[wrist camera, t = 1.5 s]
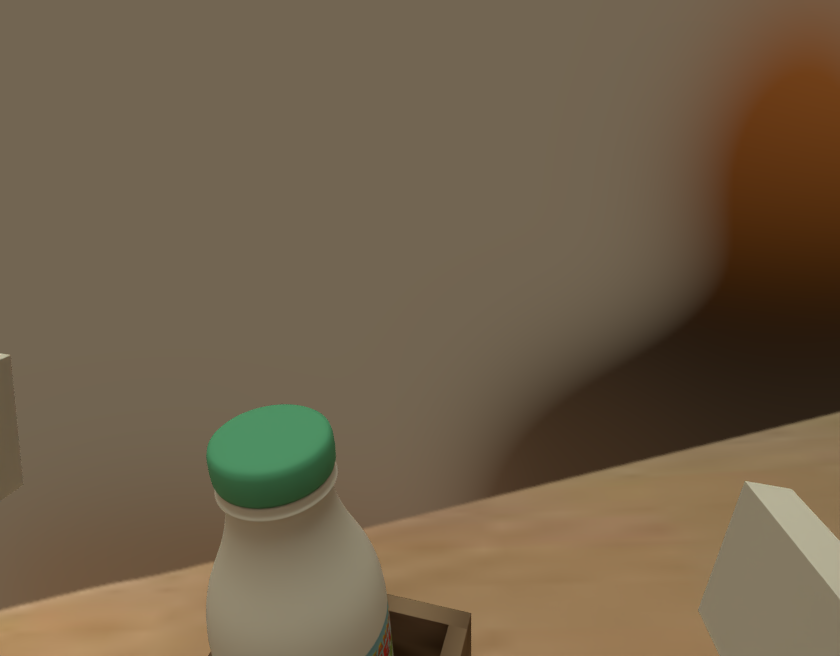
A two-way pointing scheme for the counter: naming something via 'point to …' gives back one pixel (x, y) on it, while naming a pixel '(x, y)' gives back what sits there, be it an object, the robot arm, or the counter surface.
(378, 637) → the milk bottle
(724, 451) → the counter surface
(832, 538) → the robot arm
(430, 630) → the walnut caddy
